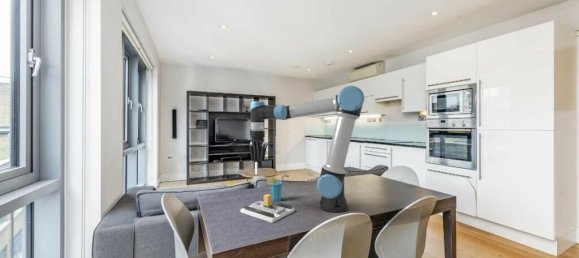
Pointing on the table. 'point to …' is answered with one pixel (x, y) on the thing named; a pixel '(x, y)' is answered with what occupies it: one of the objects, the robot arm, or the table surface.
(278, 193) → the cup
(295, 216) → the table surface
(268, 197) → the lever
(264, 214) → the panel
